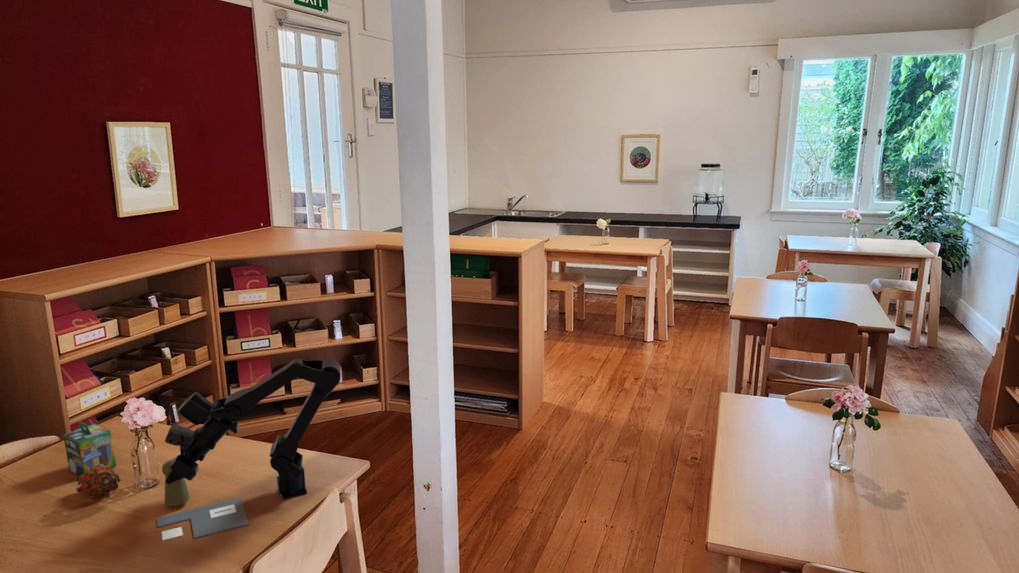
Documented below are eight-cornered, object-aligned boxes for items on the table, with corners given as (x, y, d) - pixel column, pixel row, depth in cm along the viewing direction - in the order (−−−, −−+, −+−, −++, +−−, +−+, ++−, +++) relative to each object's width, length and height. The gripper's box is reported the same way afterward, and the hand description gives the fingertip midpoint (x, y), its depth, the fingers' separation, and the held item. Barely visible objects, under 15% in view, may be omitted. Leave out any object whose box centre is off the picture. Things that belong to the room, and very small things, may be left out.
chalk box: (117, 466, 196) (110, 419, 193) (84, 479, 189) (76, 430, 186) (100, 458, 201) (94, 412, 198) (67, 470, 194) (60, 423, 190)
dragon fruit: (120, 503, 180) (83, 503, 183) (134, 473, 186) (98, 474, 188) (98, 489, 174) (60, 490, 177) (114, 459, 179) (77, 460, 182)
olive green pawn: (171, 508, 172) (166, 469, 170) (160, 501, 176) (155, 462, 173) (194, 498, 177) (189, 460, 174) (183, 491, 181) (178, 453, 178)
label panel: (240, 498, 180) (240, 496, 180) (249, 524, 168) (249, 523, 168) (156, 518, 170) (156, 517, 170) (159, 548, 158) (159, 546, 158)
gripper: (191, 402, 181) (152, 444, 181) (175, 431, 163) (131, 478, 163) (225, 426, 184) (187, 467, 185) (213, 457, 167) (170, 503, 167)
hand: (169, 477), depth 175 cm, fingers closed on olive green pawn, 5 cm apart
